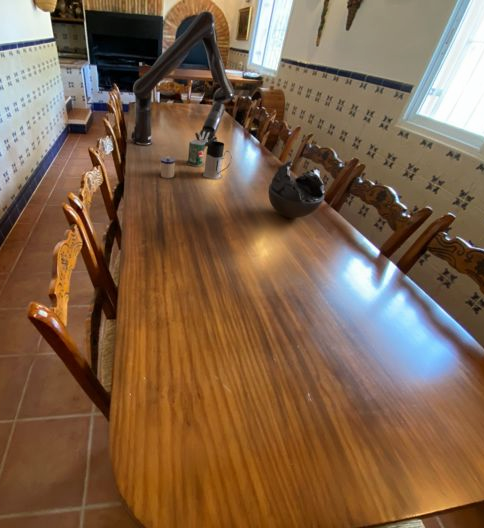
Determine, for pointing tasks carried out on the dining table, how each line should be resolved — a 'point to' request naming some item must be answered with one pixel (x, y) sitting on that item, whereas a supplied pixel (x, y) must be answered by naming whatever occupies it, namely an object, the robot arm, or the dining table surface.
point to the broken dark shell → (296, 192)
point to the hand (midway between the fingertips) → (200, 152)
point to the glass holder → (214, 160)
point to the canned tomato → (196, 152)
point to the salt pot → (167, 167)
